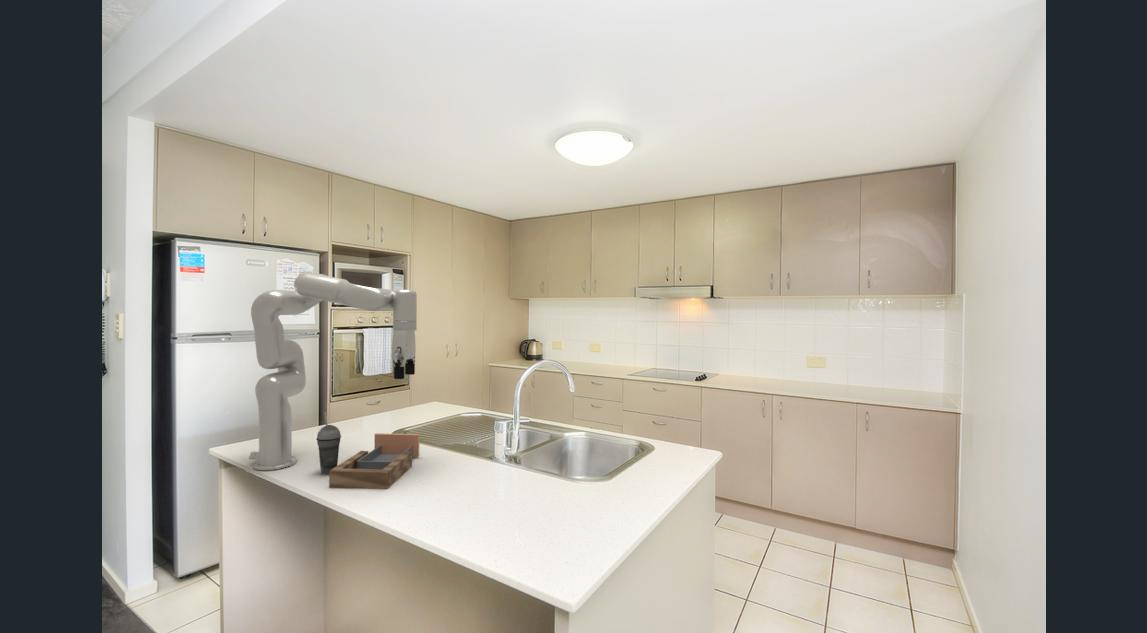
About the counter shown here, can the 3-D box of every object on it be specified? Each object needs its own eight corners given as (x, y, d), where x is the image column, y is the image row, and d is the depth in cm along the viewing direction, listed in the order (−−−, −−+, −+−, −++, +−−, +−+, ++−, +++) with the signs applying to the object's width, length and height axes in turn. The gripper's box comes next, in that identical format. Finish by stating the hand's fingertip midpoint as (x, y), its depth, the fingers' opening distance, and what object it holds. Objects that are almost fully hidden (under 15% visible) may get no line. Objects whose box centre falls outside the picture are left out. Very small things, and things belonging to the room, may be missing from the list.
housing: (361, 465, 163) (361, 450, 163) (412, 466, 163) (412, 451, 163) (329, 487, 143) (329, 471, 143) (387, 489, 143) (387, 472, 143)
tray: (376, 454, 173) (376, 432, 173) (419, 455, 173) (419, 433, 173) (350, 473, 154) (350, 448, 154) (398, 474, 154) (398, 449, 153)
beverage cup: (334, 476, 152) (334, 414, 152) (311, 476, 152) (311, 414, 152) (345, 468, 160) (345, 409, 159) (324, 468, 160) (324, 409, 159)
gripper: (403, 325, 169) (403, 372, 169) (383, 327, 152) (382, 380, 152) (424, 325, 169) (424, 373, 169) (406, 327, 151) (406, 380, 152)
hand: (404, 376), depth 161 cm, fingers open, 9 cm apart
